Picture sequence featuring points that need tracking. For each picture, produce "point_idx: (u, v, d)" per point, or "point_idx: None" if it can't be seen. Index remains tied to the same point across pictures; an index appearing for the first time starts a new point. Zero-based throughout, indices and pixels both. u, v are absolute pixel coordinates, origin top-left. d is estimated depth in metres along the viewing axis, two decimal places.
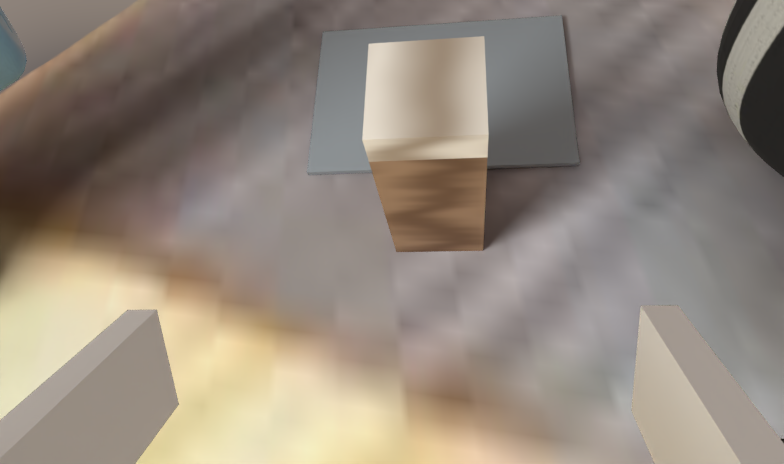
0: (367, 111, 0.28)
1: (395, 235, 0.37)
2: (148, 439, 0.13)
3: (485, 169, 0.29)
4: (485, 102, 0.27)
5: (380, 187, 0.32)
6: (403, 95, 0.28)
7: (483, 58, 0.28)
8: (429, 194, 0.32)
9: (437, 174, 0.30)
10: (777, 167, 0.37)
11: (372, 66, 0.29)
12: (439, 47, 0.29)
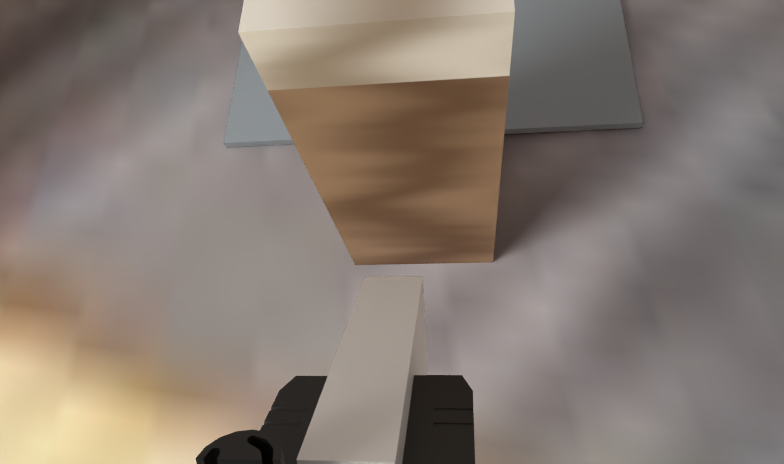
0: None
1: (348, 238, 0.23)
2: None
3: (503, 106, 0.15)
4: None
5: (304, 149, 0.17)
6: None
7: None
8: (396, 162, 0.17)
9: (407, 118, 0.15)
10: None
11: None
12: None
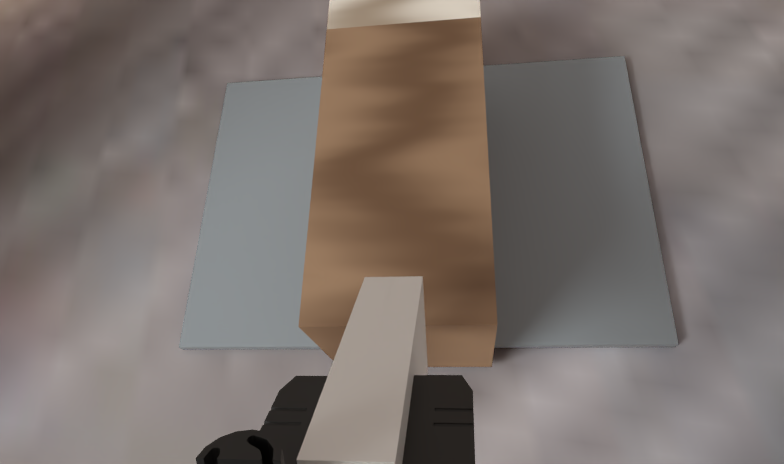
0: None
1: (314, 242, 0.19)
2: None
3: (480, 40, 0.21)
4: None
5: (326, 84, 0.21)
6: None
7: None
8: (396, 99, 0.21)
9: (412, 52, 0.21)
10: None
11: None
12: None
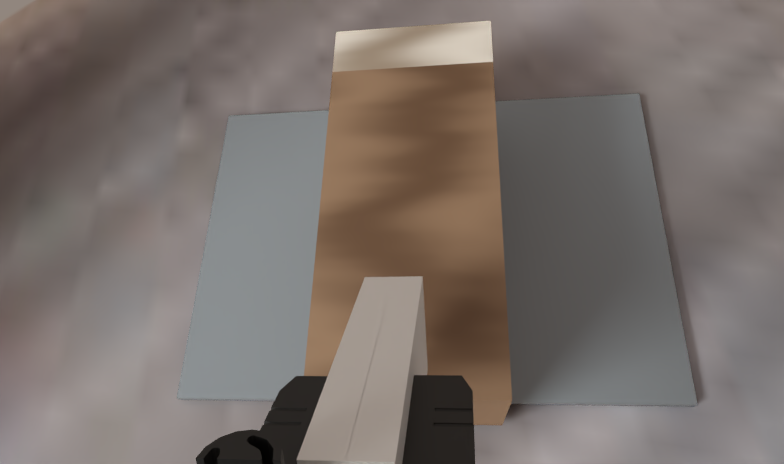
0: None
1: (318, 305, 0.18)
2: None
3: (492, 87, 0.20)
4: None
5: (332, 131, 0.20)
6: None
7: None
8: (405, 150, 0.20)
9: (421, 98, 0.20)
10: None
11: None
12: None
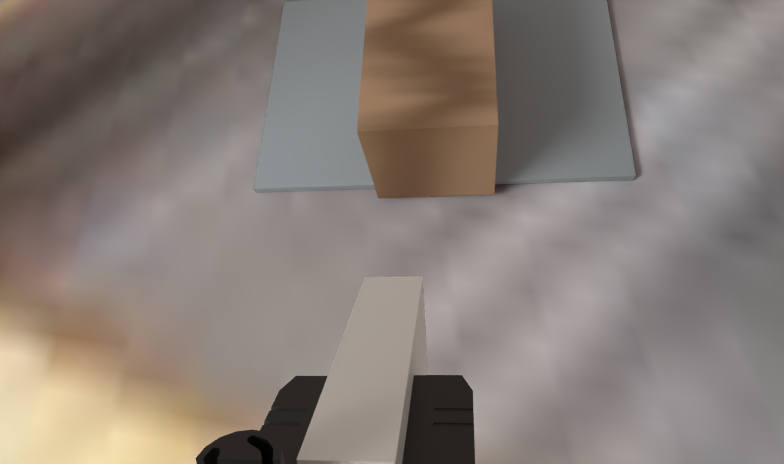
0: None
1: (366, 79, 0.26)
2: None
3: None
4: None
5: None
6: None
7: None
8: None
9: None
10: None
11: None
12: None
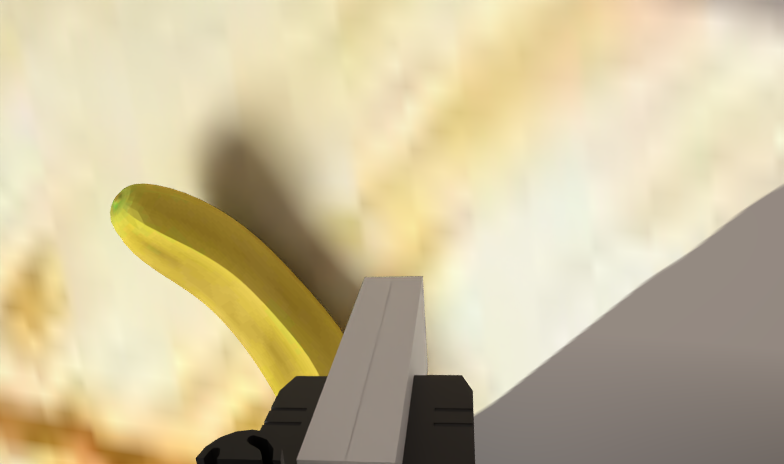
0: None
1: None
2: None
3: None
4: None
5: None
6: None
7: None
8: None
9: None
10: None
11: None
12: None
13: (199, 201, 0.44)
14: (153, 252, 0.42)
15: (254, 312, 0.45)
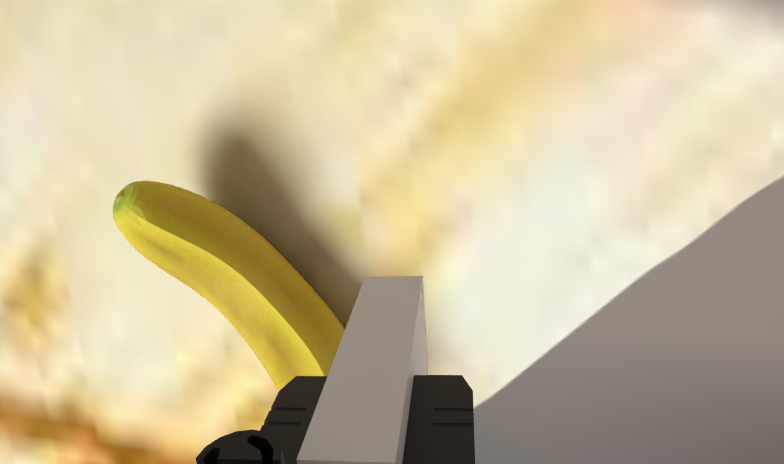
0: None
1: None
2: None
3: None
4: None
5: None
6: None
7: None
8: None
9: None
10: None
11: None
12: None
13: (201, 198, 0.44)
14: (156, 249, 0.43)
15: (256, 307, 0.46)
